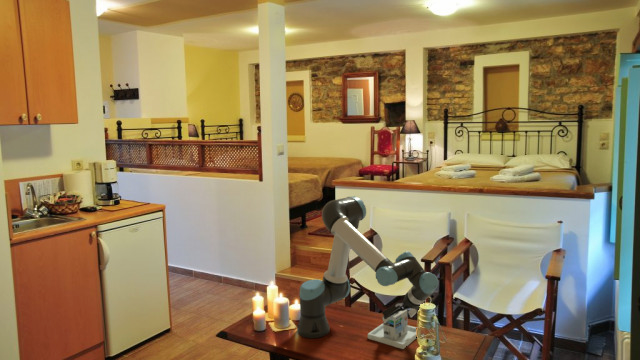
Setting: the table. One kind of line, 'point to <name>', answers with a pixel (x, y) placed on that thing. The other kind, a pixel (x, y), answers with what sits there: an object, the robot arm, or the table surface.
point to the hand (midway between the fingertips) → (397, 317)
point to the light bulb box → (396, 325)
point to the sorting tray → (399, 343)
